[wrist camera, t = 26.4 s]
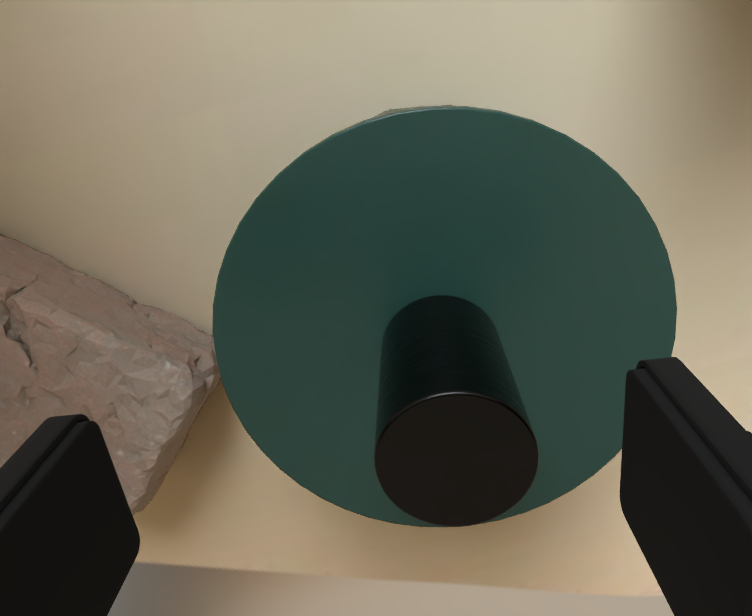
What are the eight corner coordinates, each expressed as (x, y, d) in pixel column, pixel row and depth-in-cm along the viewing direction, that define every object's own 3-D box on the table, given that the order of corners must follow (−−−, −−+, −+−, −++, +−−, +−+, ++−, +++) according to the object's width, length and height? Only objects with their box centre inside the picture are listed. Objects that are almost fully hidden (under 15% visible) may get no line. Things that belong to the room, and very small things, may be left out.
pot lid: (137, 235, 16) (-2, 326, 11) (571, 7, 14) (690, -33, 8) (347, 551, 20) (327, 737, 15) (712, 419, 18) (856, 584, 12)
